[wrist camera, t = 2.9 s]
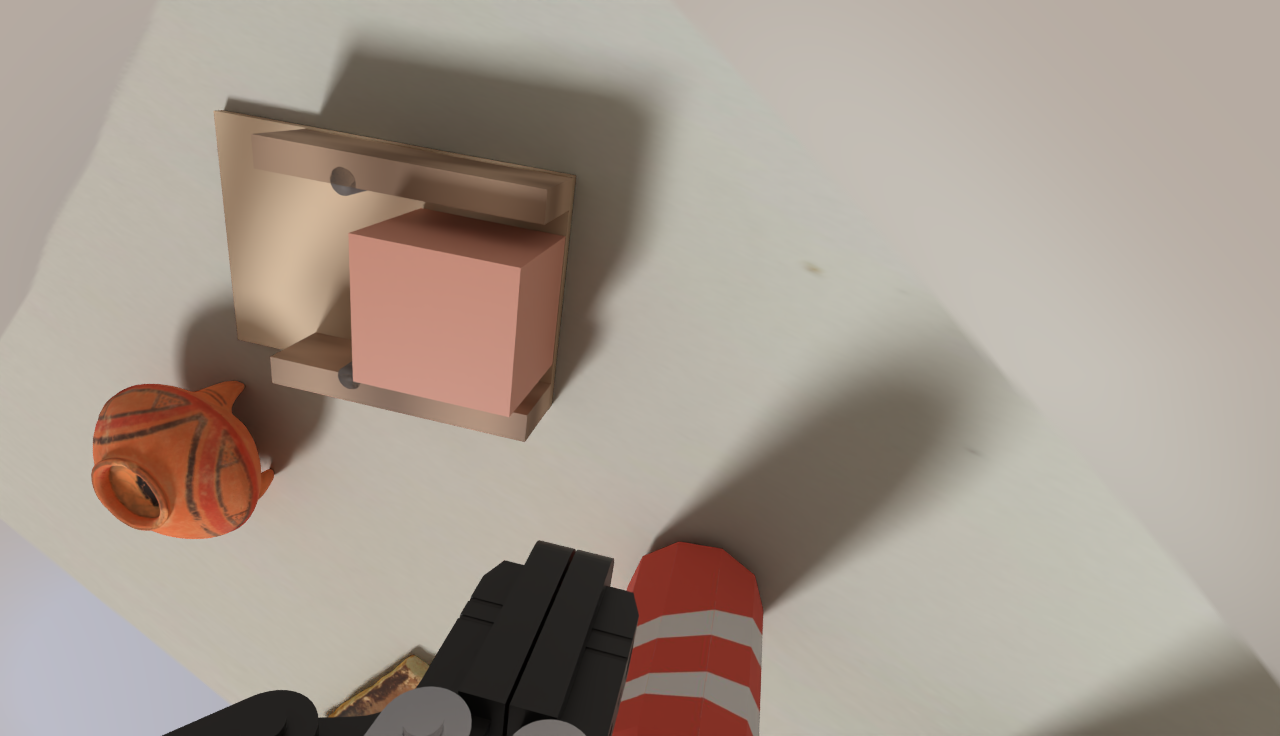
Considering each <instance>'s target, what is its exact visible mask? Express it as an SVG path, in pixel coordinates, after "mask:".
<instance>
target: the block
mask: <svg viewBox="0 0 1280 736" xmlns="http://www.w3.org/2000/svg"><path fill="white" fill-rule="evenodd" d="M348 237H349V269H350V301H351V334H352V366H353V381H354V382H358V383H362V384H367V385H371V386H375V387H380V388H384V389H388V390H393V391H397V392H401V393H406V394H410V395H415V396H419V397H423V398H428V399H432V400H436V401H441V402H445V403H449V404H454V405H458V406H462V407H467V408H471V409H475V410H480V411H484V412H489V413H493V414H497V415H502V416H506V417H510V416H511V414H512V413H513V412H514V411H515V410H516V408H517V407H518V406H519V405H520V403H521V402H522V401H523V400H524V398H525V397H526V396H527V395H528V394H529V392H530V391H531V390H532V389H533V387H534V386H535V385H536V384H537V383H538V381H539V380H540V379H541V378H542V376H543V375H544V374H545V373H546V372H547V370H548V369H549V368H550V367H551V365H552V363H553V354H554V344H555V334H556V325H557V315H558V305H559V296H560V286H561V276H562V267H563V257H564V247H565V238H566V236H561V235H556V234H551V233H546V232H541V231H536V230H531V229H526V228H521V227H515V226H510V225H505V224H500V223H495V222H490V221H485V220H480V219H475V218H469V217H464V216H459V215H454V214H449V213H444V212H439V211H434V210H429V209H423V208H420V209H417V210H414V211H411V212H408V213H405V214H402V215H400V216H397V217H394V218H391V219H388V220H385V221H382V222H379V223H376V224H373V225H370V226H368V227H365V228H362V229H359V230H356V231H353V232H350V233H348Z"/></svg>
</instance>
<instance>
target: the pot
mask: <svg viewBox="0 0 1280 736" xmlns="http://www.w3.org/2000/svg"><path fill="white" fill-rule="evenodd" d="M244 386H245V385H244V384H243V383H240V382H238V381H226V382H222V383H218V384H215V385H212V386H209V387H207V388H204V389H201V390H199V391H195V392H191V391H188V390H185V389H182V388H178V387H174V386H169V385H161V384H141V385H135V386H131V387H129V388H126V389H124V390H122V391H120V392H119V393H117V394H116V395H115V396H113V397H112V398H111V399H109V400H108V401H107V402H106V404H105V405H104V407H103V409H102V411H101V412H100V414H99V415H100V416H99V418H98V421H97V424H96V427H95V432H94V437H93V458H94V464H95V466H94V467H93V469H92V474H91V477H92V484H93V488H94V491H95V493H96V495H97V497H98V498H99V500H100V501H101V502H102V504H103V505H104V506H105V507H106V508H107V509H108V510H109V511H110V512H111V513H112V514H113V515H114V516H115V517H116V518H117V519H118V520H120V521H121V522H123V523H125V524H126V525H128V526H130V527H132V528H135V529H138V530H152V531H154V532H157V533H159V534H163V535H167V536H171V537H177V538H185V539H204V538H212V537H217V536H221V535H224V534H226V533H229V532H231V531H233V530H236V529H238V528H239V527H240V526H242V525H243V524H244V523H245V522H246V521H247V520H248V519H249V517H250V516H251V514H252V513H253V511H254V509H255V507H256V504H257V501H258V499H259V498H261V497H262V496H263V494H264V493H265V492H266V490H267V489H268V487H269V485H270V484H271V482H272V480H273V478H274V472H273V470H272V469H268V470H266V471H264V472H262V473H261V465H260V459H259V455H258V451H257V448H256V445H255V442H254V440H253V438H252V436H251V434H250V433H249V431H248V429H247V428H246V427H245V425H244V424H243V423H242V422H241V421H240V420H239V419H237V418H236V417H235V416H234V415H233V414H232V406H233V403H234V401H235V400H236V398H237V397H238V395H239V394H240V393H241V392H242V391H243V389H244Z"/></svg>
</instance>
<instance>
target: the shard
mask: <svg viewBox="0 0 1280 736" xmlns="http://www.w3.org/2000/svg"><path fill="white" fill-rule="evenodd" d="M428 668H429V665H428V664H427V663H425V662H423V661H422V660H421V659H420V658H418V657H416V656H415V655H411V656H409V657H408V658H406V659H405V660H404V661H403V662H402V663H401V664H399V665H398V666H397V667H396V668H395V669H394V670H393V671H392V672H390V673H389V674H387V675H386V676H383V677H382V678H381V679H380V680H379V681H377V682H376V684H375V685H374V686H371V687H369V688H367V689H366V690H364V691H362V692H360V693H359V694H357V695H356V696H354V697H352V698H351V699H350V700H348V701H346V702H344V703H342V704H341V705H340V706H339V707H338V708H337V709H336V710H335V712H334V713H332V714H331V715H329V716H328V717H351V716H365V715H370V714H375V713H378V712H381V711H382V710H383V709H384V708H385V707H386V706H387V705H388V704H389V703H390V702H391V701H392V700H393V699H395V698H396V697H398V696H399V695H401V694H403V693H405V692H407V691H410V690H413V689H415V688H416V687H417V686H418V684H419V683H420V681H421V680H422V678H423V676H424V675H425V673H426V671H427V670H428Z"/></svg>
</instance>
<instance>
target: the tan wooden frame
mask: <svg viewBox="0 0 1280 736" xmlns="http://www.w3.org/2000/svg"><path fill="white" fill-rule="evenodd" d="M214 119H215V128H216V137H217V147H218V156H219V166H220V175H221V185H222V194H223V203H224V213H225V222H226V232H227V241H228V251H229V260H230V269H231V279H232V288H233V298H234V307H235V317H236V326H237V335H238V340H242V341H247V342H251V343H255V344H260V345H264V346H269V347H273V348H277V349H282V351H280V352H278V353H276V354H274V355H272V356H270V363H271V374H272V383H274V384H279V385H283V386H287V387H292V388H296V389H300V390H304V391H309V392H313V393H317V394H322V395H326V396H330V397H334V398H339V399H343V400H347V401H352V402H356V403H360V404H364V405H369V406H373V407H377V408H381V409H386V410H390V411H394V412H399V413H403V414H407V415H411V416H416V417H420V418H424V419H429V420H433V421H437V422H441V423H446V424H450V425H454V426H459V427H463V428H467V429H471V430H476V431H480V432H484V433H489V434H493V435H497V436H501V437H506V438H510V439H514V440H519V441H523V442H525V441H526V440H527V438H528V437H529V435H530V434H531V433H532V431H533V430H534V428H535V427H536V426H537V424H538V423H539V421H540V420H541V419H542V417H543V416H544V414H545V413H546V412H547V410H549V408H550V407H551V405H552V399H553V389H554V380H555V370H556V361H557V351H558V342H559V332H560V323H561V314H562V304H563V295H564V285H565V276H566V266H567V257H568V247H569V238H570V229H571V219H572V210H573V200H574V191H575V181H576V175H571V174H566V173H560V172H555V171H549V170H544V169H539V168H533V167H528V166H522V165H517V164H511V163H506V162H501V161H495V160H490V159H484V158H479V157H473V156H468V155H463V154H457V153H452V152H446V151H441V150H436V149H430V148H425V147H419V146H414V145H408V144H403V143H398V142H392V141H387V140H381V139H376V138H370V137H365V136H360V135H354V134H349V133H343V132H338V131H333V130H327V129H322V128H316V127H311V126H305V125H300V124H295V123H289V122H284V121H278V120H273V119H267V118H262V117H257V116H251V115H246V114H240V113H235V112H230V111H224V110H218V111H214ZM420 208H423V209H429V210H434V211H439V212H444V213H449V214H454V215H459V216H464V217H469V218H475V219H480V220H485V221H490V222H495V223H500V224H505V225H510V226H515V227H521V228H526V229H531V230H536V231H541V232H546V233H551V234H556V235H561V236H566V238H565V247H564V257H563V267H562V276H561V286H560V296H559V305H558V315H557V325H556V334H555V344H554V354H553V363H552V365H551V367H550V368H549V369H548V370H547V372H546V373H545V374H544V375H543V376H542V378H541V379H540V380H539V381H538V383H537V384H536V385H535V386H534V387H533V389H532V390H531V391H530V392H529V394H528V395H527V396H526V397H525V398H524V400H523V401H522V402H521V403H520V405H519V406H518V407H517V408H516V410H515V411H514V412H513V413H512V414H511V416H510V417H506V416H502V415H497V414H493V413H489V412H484V411H480V410H475V409H471V408H467V407H462V406H458V405H454V404H449V403H445V402H441V401H436V400H432V399H428V398H423V397H419V396H415V395H410V394H406V393H401V392H397V391H393V390H388V389H384V388H380V387H375V386H371V385H367V384H362V383H358V382H354V381H353V366H352V334H351V301H350V269H349V237H348V233H350V232H353V231H356V230H359V229H362V228H365V227H368V226H370V225H373V224H376V223H379V222H382V221H385V220H388V219H391V218H394V217H397V216H400V215H402V214H405V213H408V212H411V211H414V210H417V209H420Z"/></svg>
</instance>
